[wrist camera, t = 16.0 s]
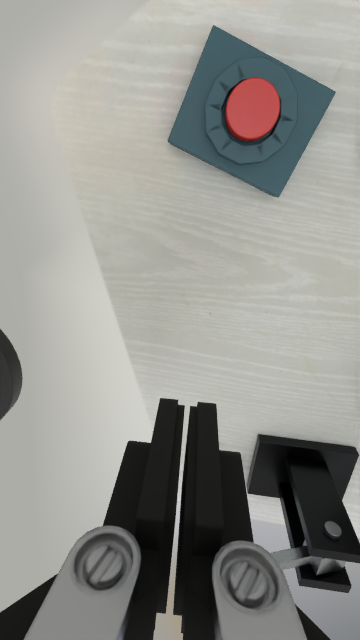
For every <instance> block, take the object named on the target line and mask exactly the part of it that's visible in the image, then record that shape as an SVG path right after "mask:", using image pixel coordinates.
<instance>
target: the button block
mask: <svg viewBox="0 0 360 640" xmlns="http://www.w3.org/2000/svg"><path fill="white" fill-rule="evenodd" d="M249 78H262V79H265V80H267V81H269V82H270V83H271V84H272V85H273V86H274V87H275V89H276V90H277V93H278V95H279V99H280V112H279V116H278V119H277V121H276V123H275V125H274V126H273V128H272V129H271V130H270V131H269V132H268V133H267V134H266V135H264V136H263V137H262V138H260V139H258V140H255V141H251V142H246V141H241V140H239V139H237V138H236V137H234V136H233V135H232V134H231V132H230V131H229V129H228V127H227V124H226V119H225V112H226V106H227V102H228V99H229V96H230V94H231V92H232V91H233V89H234V88H235V87H236V86H237V85H238V84H239V83H241V82H242V81H244V80H246V79H249ZM335 93H336V92H335V91H333V90H331V89H329V88H328V87H326V86H324V85H322V84H320V83H318V82H317V81H315V80H313V79H311V78H309V77H307V76H306V75H304V74H302V73H300V72H298V71H296V70H295V69H293V68H291V67H289V66H287V65H285V64H284V63H282V62H280V61H278V60H276V59H274V58H273V57H271V56H269V55H267V54H265V53H263V52H262V51H260V50H258V49H256V48H254V47H252V46H251V45H249V44H247V43H245V42H243V41H241V40H240V39H238V38H236V37H234V36H232V35H230V34H229V33H227V32H225V31H223V30H221V29H220V28H218V27H216V26H214V25H213V27H212V29H211V32H210V35H209V37H208V40H207V42H206V45H205V47H204V50H203V52H202V55H201V57H200V60H199V62H198V65H197V68H196V70H195V73H194V75H193V78H192V80H191V83H190V85H189V88H188V90H187V93H186V95H185V98H184V101H183V103H182V106H181V108H180V111H179V113H178V116H177V118H176V121H175V123H174V126H173V128H172V131H171V133H170V136H169V139H168V142H169V143H170V144H171V145H173V146H175V147H177V148H179V149H181V150H183V151H185V152H187V153H189V154H191V155H193V156H195V157H197V158H199V159H201V160H203V161H205V162H207V163H209V164H211V165H213V166H215V167H217V168H219V169H221V170H223V171H225V172H227V173H229V174H231V175H232V176H234V177H236V178H238V179H240V180H242V181H244V182H246V183H248V184H250V185H252V186H254V187H256V188H258V189H260V190H262V191H264V192H266V193H268V194H270V195H272V196H274V197H279V196H280V194H281V192H282V190H283V189H284V187H285V185H286V183H287V181H288V179H289V177H290V176H291V174H292V172H293V170H294V168H295V166H296V165H297V163H298V161H299V159H300V157H301V155H302V154H303V152H304V150H305V148H306V146H307V144H308V143H309V141H310V139H311V137H312V135H313V133H314V131H315V130H316V128H317V126H318V124H319V122H320V120H321V119H322V117H323V115H324V113H325V111H326V109H327V108H328V106H329V104H330V102H331V100H332V98H333V97H334V95H335Z"/></svg>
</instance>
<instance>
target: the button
mask: <svg viewBox="0 0 360 640" xmlns="http://www.w3.org/2000/svg"><path fill="white" fill-rule="evenodd" d="M279 112H280V99H279V95H278V93H277V90H276V89H275V87H274V86H273V85H272V84H271V83H270V82H269V81H267V80H265V79H262V78H249V79H246V80H244V81H242V82H241V83H239V84H238V85H237V86H236V87H235V88H234V89H233V91H232V92H231V94H230V96H229V99H228V102H227V106H226V112H225V119H226V124H227V127H228V129H229V131H230V132H231V134H232V135H233V136H234V137H236V138H237V139H239V140H241V141H246V142H251V141H255V140H258V139H260V138H262V137H263V136H264V135H266V134H267V133H268V132H269V131H270V130H271V129H272V128H273V126H274V125H275V123H276V121H277V119H278V116H279Z"/></svg>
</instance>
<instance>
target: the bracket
mask: <svg viewBox="0 0 360 640" xmlns="http://www.w3.org/2000/svg"><path fill="white" fill-rule="evenodd" d="M358 456H359V454H358V452H357V450H356V448H355V447H349V446H341V445H334V444H326V443H319V442H311V441H304V440H296V439H289V438H281V437H274V436H266V435H258V439H257V443H256V447H255V452H254V456H253V461H252V465H251V469H250V474H249V478H248V483H247V491H248V494H255V495H262V496H269V497H276V498H280V501H281V505H282V510H283V515H284V519H285V524H286V528H287V533H288V537H289V541H290V546H291V549H292V548H297V547H301V546H303V543H304V540H306V543H307V547H308V551H309V555H310V556H314V557H321V558H327V559H334V560H341V561H348V562H355V563H360V543H359V541H358V538H357V536H356V533H355V531H354V529H353V526H352V524H351V521H350V519H349V517H348V514H347V512H346V509H345V507H344V505H343V502H342V499H343V496H344V494H345V491H346V488H347V486H348V483H349V480H350V478H351V475H352V472H353V470H354V467H355V464H356V462H357V459H358ZM295 569H296V573H297V578H298V583H299V586H305V587H312V588H319V589H325V590H332V591H338V592H345V593H348V592H349V591H350V589H351V583H350V580H349V577H348V575H347V572H346V569H345V566H344V567H343V569H340V570H336V571H332V572H328V573H323V574H319V575H316V573H315V572H314V570H313V568H312V566H311V565H310V564H306V565H302V566H298V567H295Z"/></svg>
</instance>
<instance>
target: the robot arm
mask: <svg viewBox="0 0 360 640" xmlns="http://www.w3.org/2000/svg"><path fill="white" fill-rule="evenodd" d="M184 408H185V406H184V405H178V400H174V399H164V398H160V402H159V407H158V412H157V416H156V421H155V426H154V431H153V436H152V441H151V443H146V442H137V441H128V443H127V446H126V450H125V453H124V456H123V460H122V463H121V466H120V470H119V473H118V476H117V480H116V483H115V487H114V490H113V494H112V497H111V500H110V504H109V507H108V510H107V514H106V517H105V520H104V524H103V526H102V527H97V528H95V529H93V530H90V531H88V532H87V533H85V534H84V535H83V536H82V537H81V538H79V539H78V540H77V542H76V543H75V544H74V546H73V547H72V549H71V550H70V552H69V554H68V556H67V558H66V560H65V562H64V564H63V565H62V567H61V569H60V571H59V573H58V574H57V575H55V576H54V577H52V578H51V579H49V580H48V581H46V582H45V583H43V584H42V585H41V586H39V587H37V588H36V589H34V590H33V591H31V592H30V593H28V594H27V595H25V596H24V597H22V598H21V599H20V600H18V601H17V602H15V603H14V604H12V605H11V606H9V607H8V608H6V609H5V610H3V611H2V612H0V640H153V634H154V630H155V621H156V613H166V606H167V596H168V586H169V576H170V567H171V557H172V547H173V537H174V526H175V516H176V505H177V493H178V481H179V469H180V457H181V444H182V432H183V420H184ZM176 567H177V568H176V580H175V595H174V609H173V614H174V615H182V627H181V633H183V640H330V639H329V638H328V637H327V636H326V635H325V634H324V633H323V632H322V631H321V630H320V629H319V628H318V627H317V626H316V625H315V624H314V623H313V622H312V621H311V620H310V619H309V618H308V617H307V616H306V615H305V614H304V613H303V612H302V611H301V610H300V609H299V608H298V607H297V606H296V605H295V603H294V601H293V598H292V595H291V592H290V589H289V586H288V583H287V580H286V578H285V575H284V573H283V571H282V569H281V567H280V565H279V563H278V562H277V560H276V559H275V558H274V557H273V556H272V555H271V553H269V552H268V551H267V550H265V549H264V548H263V547H261V546H259V545H257V544H254V543H253V535H252V528H251V522H250V514H249V507H248V500H247V493H246V486H245V479H244V473H243V466H242V459H241V454H240V452H231V451H221V450H219V441H218V425H217V409H216V404H213V403H203V402H198V404H197V407H194V406H190V414H189V424H188V433H187V442H186V452H185V461H184V471H183V481H182V494H181V508H180V523H179V538H178V552H177V566H176Z"/></svg>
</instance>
